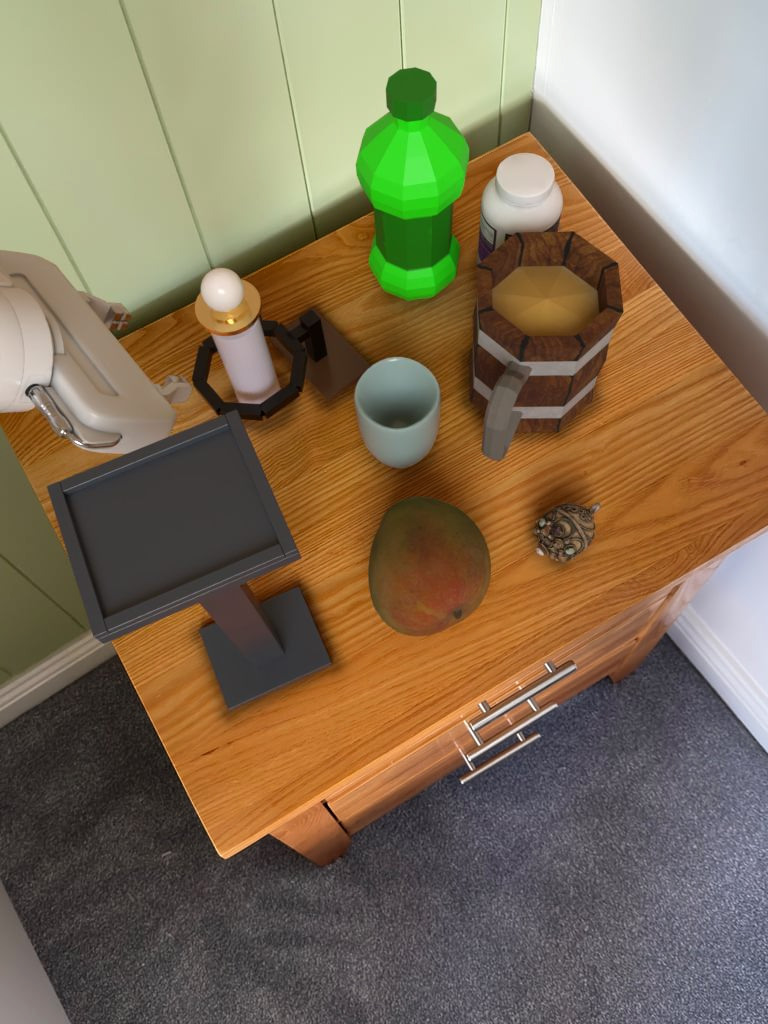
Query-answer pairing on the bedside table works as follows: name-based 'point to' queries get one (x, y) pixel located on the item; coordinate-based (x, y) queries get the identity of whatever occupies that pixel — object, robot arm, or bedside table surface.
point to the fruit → (427, 566)
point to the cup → (398, 411)
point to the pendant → (565, 531)
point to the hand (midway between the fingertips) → (154, 352)
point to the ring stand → (312, 359)
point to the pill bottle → (518, 201)
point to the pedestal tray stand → (191, 553)
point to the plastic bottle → (413, 188)
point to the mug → (540, 333)
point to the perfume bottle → (237, 333)
